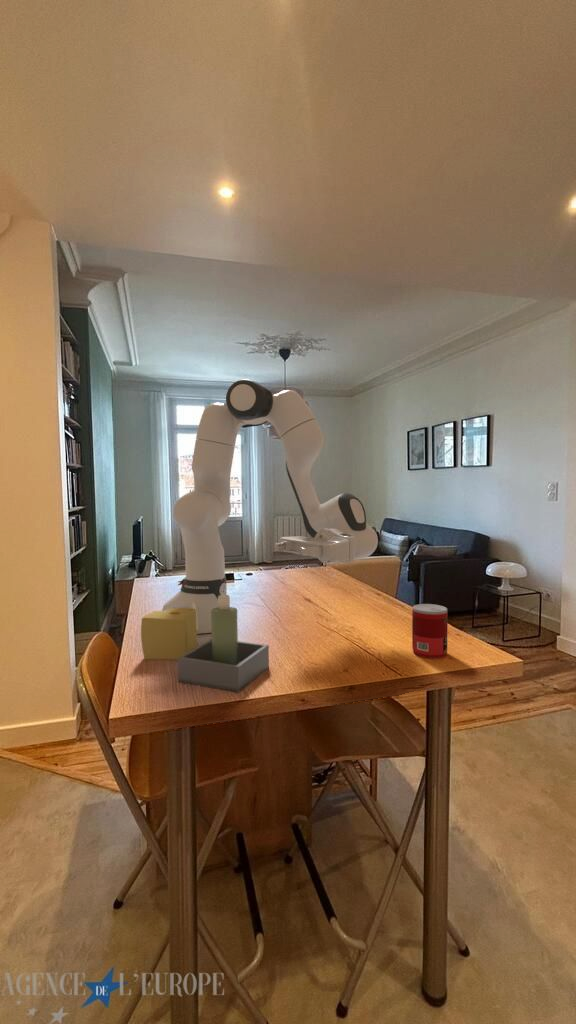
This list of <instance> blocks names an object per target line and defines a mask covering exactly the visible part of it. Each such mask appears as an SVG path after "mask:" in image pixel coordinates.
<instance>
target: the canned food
mask: <svg viewBox="0 0 576 1024" xmlns="http://www.w3.org/2000/svg"><path fill="white" fill-rule="evenodd" d="M411 611H412V612H411V616H412V617H411V618H412V619H411V620H412V621H411V622H412V623H411V625H412V628H411V630H412V631H411V632H412V633H411V634H412V642H411V643H412V644H411V645H412V646H411V647H412V648H411V649H412V650H413V651H412V652H413V654H415V655H416V656H418V657H419V658H420V657H421V658H425V659H441V658H444V657H446V656H447V654H448V618H449V617H448V608H447V607H445V606H443V605H439V604H432V603H420V604H415V605H413V606H412V610H411Z"/></svg>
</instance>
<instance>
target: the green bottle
mask: <svg viewBox="0 0 576 1024" xmlns="http://www.w3.org/2000/svg"><path fill="white" fill-rule="evenodd" d="M230 598H231V596H230V594H226V595H219V596H218V608H214V609H212V610H211V633H210V634H211V639H212V662H219V663H225V664H232V665H238V641H239V639H238V635H239V634H238V631H239V630H238V609H237V608H236V607H233V606H231V600H230Z"/></svg>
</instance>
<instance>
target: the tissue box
mask: <svg viewBox="0 0 576 1024" xmlns="http://www.w3.org/2000/svg"><path fill="white" fill-rule="evenodd" d="M140 623H141V625H140V626H141V627H140V639H141V648H142V654H143V659H144V660H162V661H163V660H167V661H168V660H169V661H170V660H172V661H174V660H176V661H178V658H179V657H180V656H182V655H184V654H186V653H188V652H189V651H191V650H193V649H195V648H197V641H198V640H197V639H198V638H197V635H198V634H197V627H196V609H190V608H171V609H168V610H165V611H162V610H155V611H152V612H150V613H147V614H145V615H144V616H143V617H141V622H140Z"/></svg>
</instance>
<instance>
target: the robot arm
mask: <svg viewBox="0 0 576 1024" xmlns="http://www.w3.org/2000/svg"><path fill="white" fill-rule="evenodd" d="M313 413H314V412H313V411H312V410H311V409H310V407H309V405H308V404H307V403H306V402H305V400H304V399H303V397H302V396H301V395H300V394H299V393H298V392H297V391H296V390H293V389H287V390H285V389H284V390H281V391H279V392H278V393H275V394H273V392H272V391H271V390H270V389H267V388H266V387H264V386H263V385H261V384H260V383H258V381H255V380H252V379H246V378H245V379H243V378H242V379H239V380H236V381H235V382H233V383H232V384H231V385H230V386H229V388H228V389H227V392H226V395H225V403H223V402H214V403H213V402H212V403H210V404H208V405H207V406H206V407H205V408H204V410H203V413H202V414H201V418H200V420H199V424H198V427H197V431H196V436H195V443H194V448H193V455H192V462H191V471H192V474H193V485H194V486H193V491H189V492H188V493H186V494H184V495H182V496H181V497H180V498H178V500H177V501H176V502H175V504H174V506H173V517H174V520H175V522H176V524H177V525H178V526H179V530H180V531H179V532H180V534H181V539H182V544H183V548H184V559H185V560H184V562H185V565H184V566H185V577H184V578H183V579H181V580H179V581H177V583H178V584H177V586H181V587H180V591H178V592H177V593H176V594H175V595H174V596H172V598H170V599H169V600H167V601H166V602H165V603H164V604H163V605H162V609H161V611H165V610H168V609H171V608H190V609H196V627H197V635H199V634H211V610H212V609H214V608H218V596H219V595H227V593H228V592H227V577H226V572H225V571H226V570H225V569H226V568H225V567H226V566H225V563H226V562H225V549H224V546H223V544H222V539H221V536H220V531H219V527H220V526H222V525H223V524H224V523H226V521H227V520H228V518H229V517H230V515H231V511H232V505H231V473H232V466H233V460H234V453H235V448H236V447H235V446H236V440H237V436H238V434H239V433H238V432H239V431H240V428H242V429H243V428H252V427H258V426H262V425H264V424H266V423H267V422H268V423H270V424H271V426H273V427H274V429H275V431H276V433H277V435H278V437H279V438H280V441H281V442H282V445H283V447H284V453H285V458H286V461H285V471H286V473H287V477H288V479H289V482H290V485H291V487H292V490H293V493H294V495H295V498H296V501H297V504H298V507H299V509H300V512H301V515H302V520H303V521H302V522H303V525H304V529H305V530H306V533H307V534H308V535H309V536H310V537H309V536H301V535H297V536H295V535H294V536H281V537H280V538H279V541H278V542H276V543H275V544H274V550H275V551H278V552H285V553H290V554H295V555H301V556H306V557H307V556H308V557H313V558H317V559H318V560H319V562H321V563H324V564H332V563H347V564H348V563H354V562H355V560H362V559H364V558H368V557H369V556H371V555H372V554H373V553H375V551H376V549H377V547H378V544H379V537H378V534H377V532H376V531H375V530H374V528H372V527H371V526H370V525H369V523H368V522H367V517H366V515H367V514H366V510H365V507H364V504H363V503H362V500H360V499H359V498H358V497H356V496H355V495H354V494H352V493H348V492H342V493H340V494H338V495H336V496H334V497H332V498H331V499H329V500H327V501H325V502H324V503H320V501H319V498H318V495H317V493H316V489H315V486H314V485H313V482H312V477H311V471H312V468H313V465H314V464H315V461H316V460H317V458H318V457H319V455H320V454H321V451H322V449H323V446H324V442H325V441H324V439H325V438H324V435H323V431H322V428H321V426H320V424H319V422H318V420H317V419H316V417H315V416H314V415H315V414H313Z"/></svg>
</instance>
